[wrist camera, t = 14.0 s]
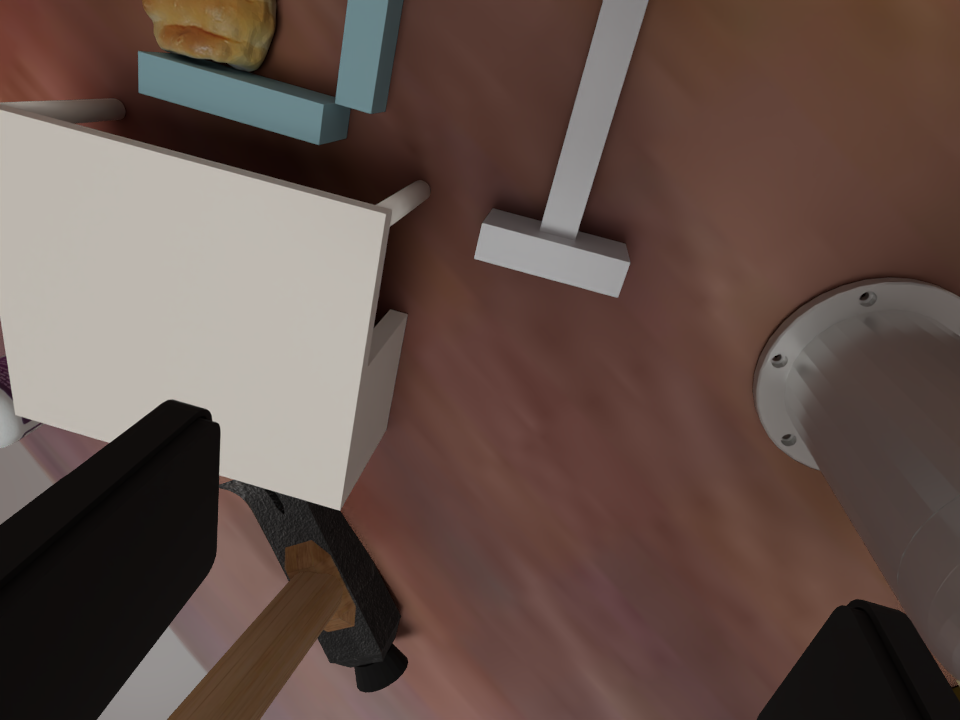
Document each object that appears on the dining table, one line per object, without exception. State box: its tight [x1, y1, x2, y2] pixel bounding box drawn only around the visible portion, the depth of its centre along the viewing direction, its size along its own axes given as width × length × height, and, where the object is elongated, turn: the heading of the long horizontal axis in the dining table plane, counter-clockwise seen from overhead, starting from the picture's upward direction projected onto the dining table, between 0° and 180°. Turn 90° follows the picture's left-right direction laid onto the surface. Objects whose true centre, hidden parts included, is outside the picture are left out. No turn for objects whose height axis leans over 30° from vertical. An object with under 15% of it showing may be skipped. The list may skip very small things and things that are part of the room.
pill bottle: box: [0, 355, 44, 448], centre depth 41 cm, size 5×5×10 cm
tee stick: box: [474, 0, 649, 298], centre depth 28 cm, size 8×20×6 cm, turn 167°
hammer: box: [167, 480, 408, 720], centre depth 35 cm, size 20×5×30 cm, turn 25°
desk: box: [0, 98, 431, 511], centre depth 35 cm, size 20×18×9 cm
